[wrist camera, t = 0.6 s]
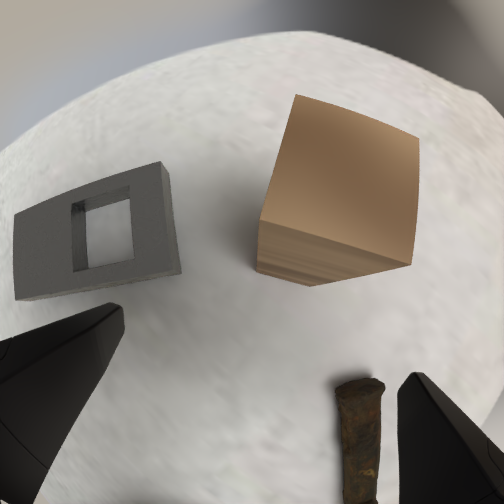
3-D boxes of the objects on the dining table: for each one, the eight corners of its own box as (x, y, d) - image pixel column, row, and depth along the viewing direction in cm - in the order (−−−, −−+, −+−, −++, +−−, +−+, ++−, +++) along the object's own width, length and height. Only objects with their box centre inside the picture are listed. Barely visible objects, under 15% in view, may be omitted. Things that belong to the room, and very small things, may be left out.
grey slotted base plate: (169, 173, 23) (160, 161, 21) (181, 273, 22) (172, 270, 19) (28, 220, 23) (14, 214, 20) (30, 301, 21) (15, 300, 19)
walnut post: (309, 286, 22) (411, 264, 7) (256, 272, 22) (259, 219, 7) (322, 234, 22) (419, 138, 7) (270, 219, 22) (295, 94, 8)
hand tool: (329, 381, 20) (345, 400, 16) (372, 372, 20) (396, 387, 16) (327, 520, 18) (336, 545, 13) (362, 511, 18) (374, 534, 13)
